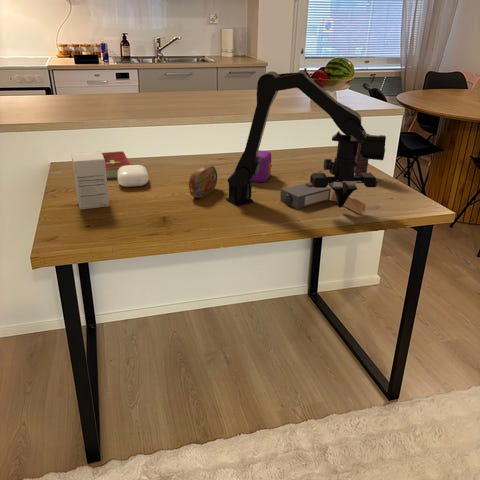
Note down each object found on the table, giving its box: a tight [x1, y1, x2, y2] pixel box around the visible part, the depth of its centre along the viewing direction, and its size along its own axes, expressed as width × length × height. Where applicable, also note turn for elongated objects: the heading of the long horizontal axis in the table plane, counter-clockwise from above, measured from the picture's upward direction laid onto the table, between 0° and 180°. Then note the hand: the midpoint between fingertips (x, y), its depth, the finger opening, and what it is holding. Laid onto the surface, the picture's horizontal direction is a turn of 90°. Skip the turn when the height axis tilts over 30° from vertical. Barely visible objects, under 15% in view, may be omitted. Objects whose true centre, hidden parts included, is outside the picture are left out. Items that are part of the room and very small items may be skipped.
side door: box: [331, 189, 366, 215], centre depth 148 cm, size 14×2×4 cm, turn 28°
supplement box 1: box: [71, 151, 110, 210], centre depth 144 cm, size 9×9×15 cm
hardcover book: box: [102, 150, 132, 179], centre depth 178 cm, size 12×21×4 cm, turn 20°
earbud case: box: [116, 164, 149, 188], centre depth 164 cm, size 10×13×5 cm
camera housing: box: [279, 181, 332, 210], centre depth 152 cm, size 15×8×4 cm, turn 126°
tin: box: [188, 165, 218, 199], centre depth 155 cm, size 15×3×8 cm, turn 155°
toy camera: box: [249, 150, 273, 183], centre depth 171 cm, size 11×14×10 cm
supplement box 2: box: [351, 132, 370, 176], centre depth 174 cm, size 9×5×16 cm, turn 22°
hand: (339, 207), depth 144 cm, fingers closed
